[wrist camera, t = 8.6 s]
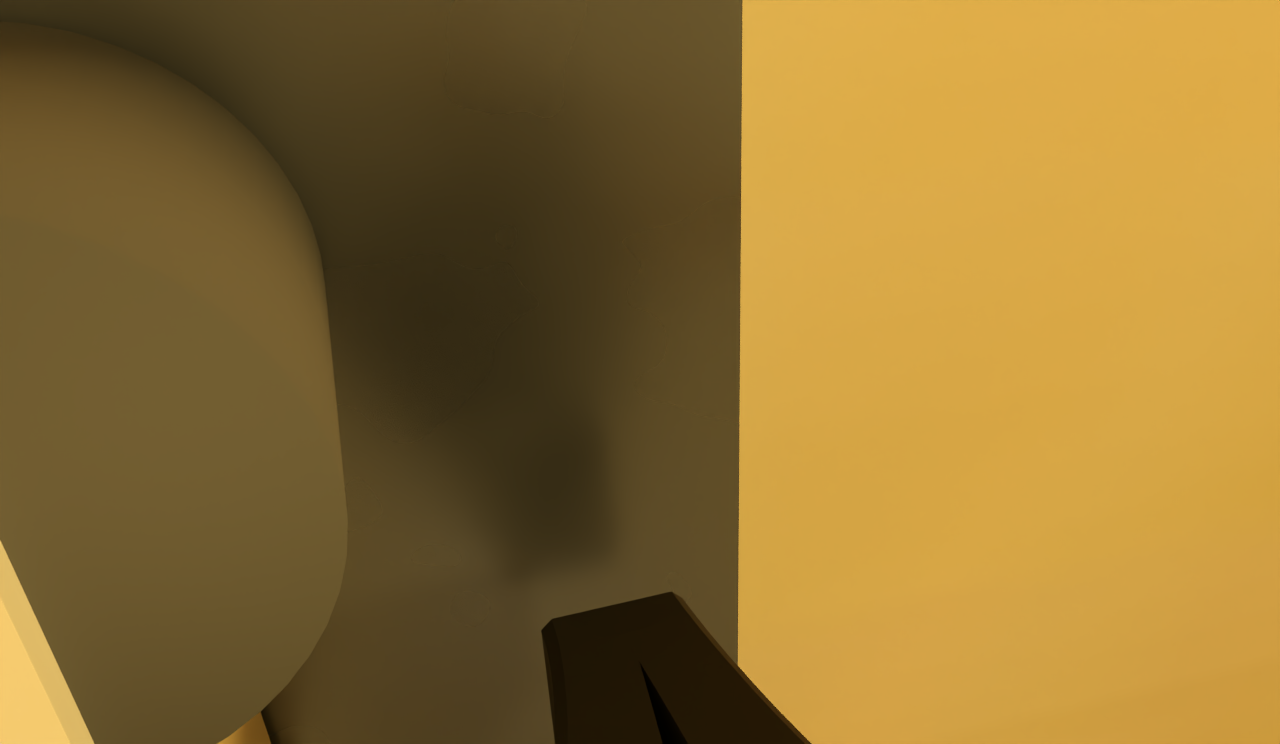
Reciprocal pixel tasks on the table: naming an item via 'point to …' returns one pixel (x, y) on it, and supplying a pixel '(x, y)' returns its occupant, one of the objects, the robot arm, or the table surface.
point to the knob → (154, 408)
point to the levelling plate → (495, 322)
